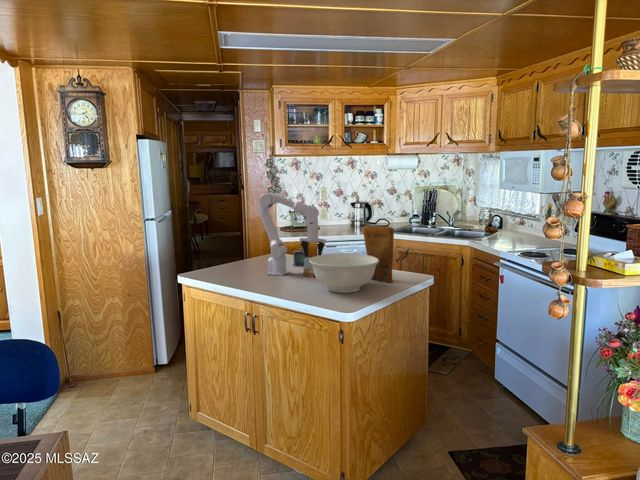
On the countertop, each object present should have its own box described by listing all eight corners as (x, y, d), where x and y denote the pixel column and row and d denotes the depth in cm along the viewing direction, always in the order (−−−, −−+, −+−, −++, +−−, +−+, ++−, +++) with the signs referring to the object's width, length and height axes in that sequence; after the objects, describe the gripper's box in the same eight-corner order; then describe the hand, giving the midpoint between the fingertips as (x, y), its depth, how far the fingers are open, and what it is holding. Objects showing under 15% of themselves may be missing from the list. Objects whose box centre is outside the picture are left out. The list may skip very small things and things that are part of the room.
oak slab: (303, 272, 250) (303, 267, 249) (308, 270, 254) (308, 265, 254) (312, 273, 247) (312, 268, 247) (317, 271, 252) (317, 266, 252)
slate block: (303, 268, 249) (303, 258, 248) (308, 266, 254) (308, 257, 253) (312, 268, 247) (312, 259, 246) (316, 267, 251) (316, 257, 250)
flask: (292, 266, 275) (292, 248, 274) (294, 265, 278) (294, 247, 276) (308, 267, 273) (308, 248, 271) (309, 266, 276) (309, 248, 274)
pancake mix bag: (388, 284, 231) (389, 228, 227) (361, 278, 246) (361, 224, 241) (397, 282, 236) (398, 226, 231) (369, 276, 250) (370, 223, 246)
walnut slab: (302, 277, 250) (302, 272, 249) (307, 274, 255) (307, 270, 255) (312, 278, 247) (312, 273, 247) (317, 275, 253) (317, 271, 252)
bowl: (337, 277, 247) (337, 250, 244) (391, 287, 226) (391, 257, 224) (295, 290, 222) (295, 259, 220) (351, 302, 202) (352, 269, 199)
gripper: (296, 230, 248) (297, 256, 250) (321, 232, 242) (322, 258, 244) (303, 229, 254) (303, 254, 256) (327, 230, 248) (327, 256, 250)
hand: (313, 256), depth 251 cm, fingers open, 7 cm apart
